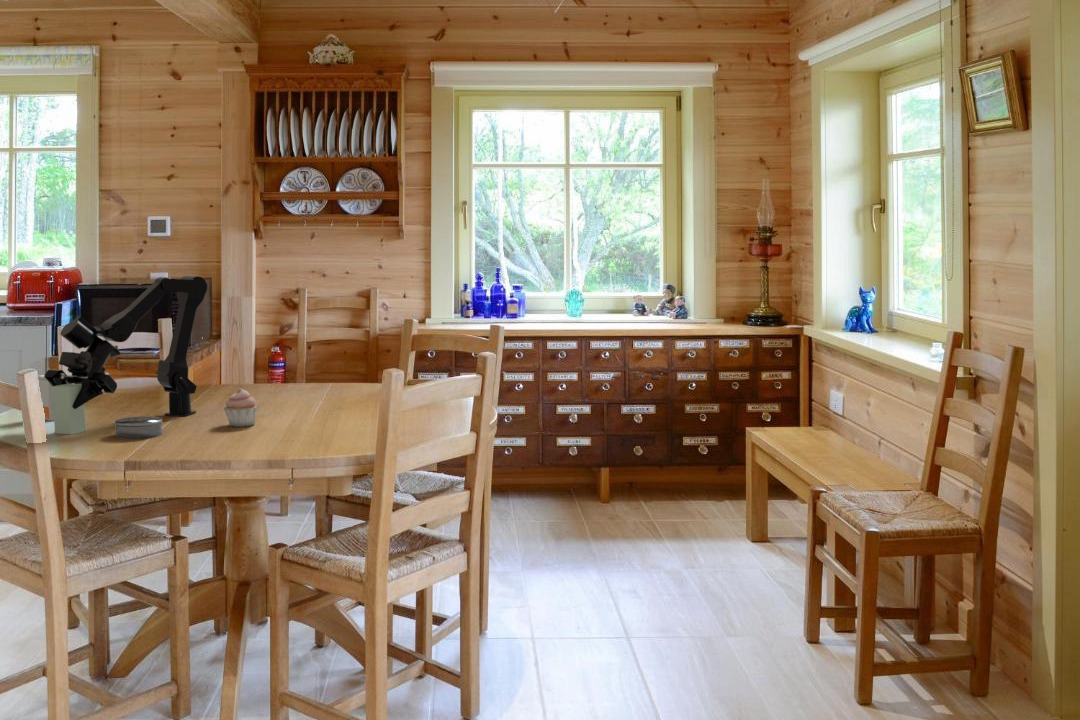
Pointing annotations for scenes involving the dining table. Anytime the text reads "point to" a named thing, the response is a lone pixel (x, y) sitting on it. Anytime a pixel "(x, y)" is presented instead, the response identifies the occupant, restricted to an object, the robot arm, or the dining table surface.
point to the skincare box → (47, 397)
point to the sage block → (67, 409)
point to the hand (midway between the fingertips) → (65, 407)
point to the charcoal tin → (138, 427)
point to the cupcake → (241, 409)
